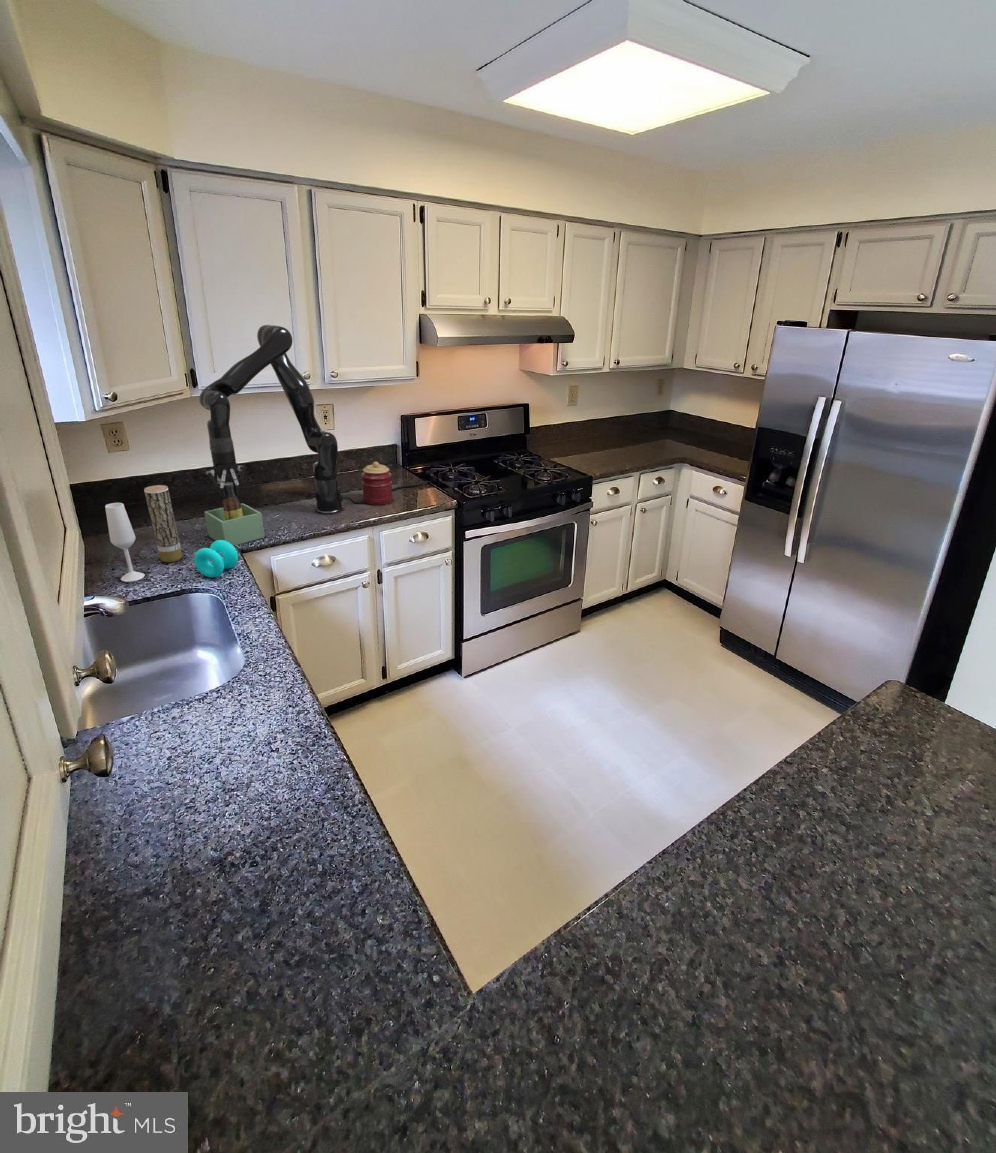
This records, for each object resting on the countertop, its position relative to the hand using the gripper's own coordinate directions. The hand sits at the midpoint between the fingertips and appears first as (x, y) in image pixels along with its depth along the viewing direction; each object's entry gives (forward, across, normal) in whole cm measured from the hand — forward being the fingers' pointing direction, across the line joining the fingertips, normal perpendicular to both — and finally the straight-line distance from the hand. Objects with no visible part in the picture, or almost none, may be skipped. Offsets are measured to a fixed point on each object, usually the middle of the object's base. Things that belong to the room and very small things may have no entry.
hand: (230, 495), depth 215 cm
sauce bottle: (+15, 0, 0) cm, 15 cm away
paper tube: (+16, -25, -5) cm, 30 cm away
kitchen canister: (+16, +64, 0) cm, 66 cm away
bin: (+16, 0, 0) cm, 16 cm away
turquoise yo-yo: (+16, -18, -26) cm, 35 cm away
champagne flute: (+16, -39, -11) cm, 44 cm away
